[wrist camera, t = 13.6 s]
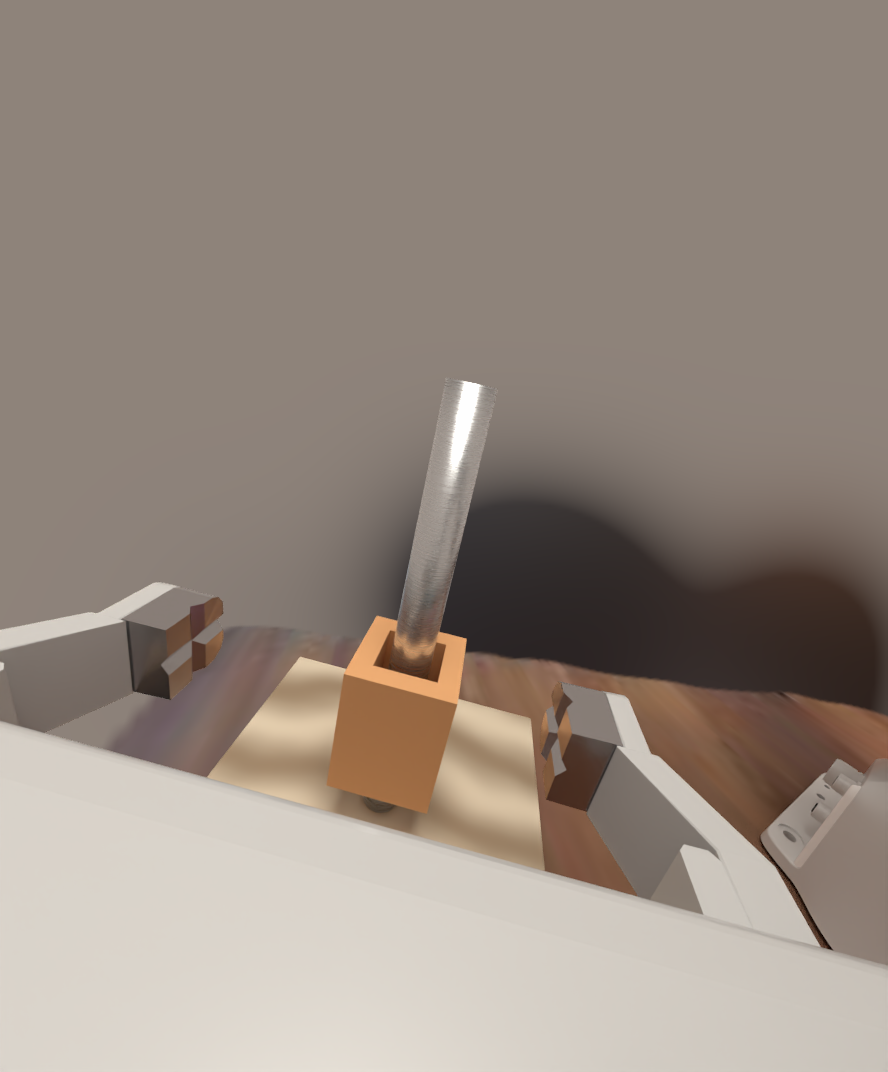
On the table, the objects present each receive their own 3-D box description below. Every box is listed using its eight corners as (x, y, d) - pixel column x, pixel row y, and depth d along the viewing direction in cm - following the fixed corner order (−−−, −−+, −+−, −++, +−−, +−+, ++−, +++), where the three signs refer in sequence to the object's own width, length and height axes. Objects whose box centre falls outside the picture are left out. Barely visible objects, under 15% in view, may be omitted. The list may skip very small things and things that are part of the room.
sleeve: (426, 813, 23) (457, 704, 21) (326, 785, 24) (343, 673, 21) (441, 733, 29) (466, 639, 26) (359, 711, 29) (376, 615, 27)
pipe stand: (556, 1131, 17) (567, 1115, 17) (71, 975, 18) (68, 955, 18) (525, 731, 38) (530, 718, 37) (298, 669, 39) (300, 656, 39)
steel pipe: (396, 822, 26) (503, 389, 17) (353, 809, 26) (436, 374, 17) (406, 782, 29) (503, 391, 20) (366, 771, 29) (445, 378, 20)
